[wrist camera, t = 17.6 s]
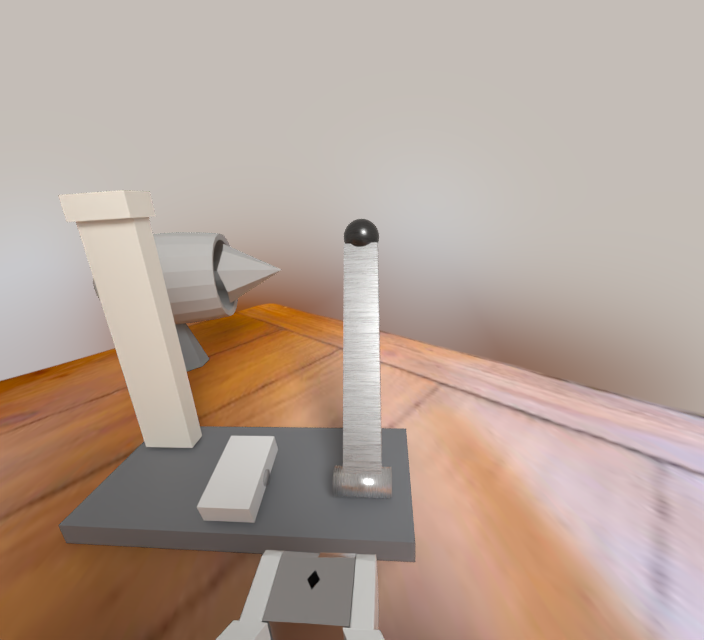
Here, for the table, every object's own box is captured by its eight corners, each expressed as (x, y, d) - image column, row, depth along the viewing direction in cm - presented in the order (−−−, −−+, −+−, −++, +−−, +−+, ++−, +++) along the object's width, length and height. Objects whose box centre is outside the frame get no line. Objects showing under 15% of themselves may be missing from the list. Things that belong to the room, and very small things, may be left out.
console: (415, 562, 19) (415, 542, 19) (66, 542, 22) (58, 525, 21) (406, 443, 29) (406, 428, 28) (163, 439, 31) (159, 426, 31)
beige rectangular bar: (191, 451, 27) (123, 190, 20) (140, 450, 27) (58, 195, 21) (207, 432, 29) (150, 191, 23) (159, 431, 29) (90, 195, 23)
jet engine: (217, 405, 36) (180, 237, 30) (104, 377, 44) (58, 241, 39) (295, 350, 49) (279, 225, 43) (196, 336, 57) (172, 229, 51)
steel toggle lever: (391, 504, 20) (385, 210, 24) (331, 502, 20) (334, 213, 24) (392, 492, 22) (385, 228, 26) (338, 490, 23) (340, 230, 27)
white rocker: (256, 522, 20) (250, 509, 19) (202, 520, 21) (194, 507, 20) (279, 449, 25) (275, 436, 24) (234, 448, 25) (229, 435, 24)
